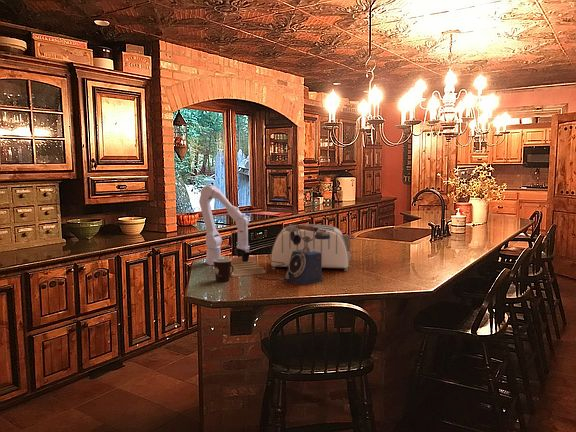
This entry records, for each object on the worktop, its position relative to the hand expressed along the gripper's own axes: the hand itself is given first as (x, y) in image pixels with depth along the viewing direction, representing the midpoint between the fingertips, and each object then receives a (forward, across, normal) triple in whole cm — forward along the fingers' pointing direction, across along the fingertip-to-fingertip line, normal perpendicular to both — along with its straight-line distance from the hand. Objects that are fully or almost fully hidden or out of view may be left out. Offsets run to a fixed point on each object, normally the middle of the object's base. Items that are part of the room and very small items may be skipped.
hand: (243, 262), depth 264 cm
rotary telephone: (+2, -38, -11) cm, 40 cm away
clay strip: (+2, 0, 0) cm, 2 cm away
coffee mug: (+2, -29, +21) cm, 36 cm away
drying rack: (+1, -14, +5) cm, 15 cm away
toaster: (+2, -19, -34) cm, 39 cm away
